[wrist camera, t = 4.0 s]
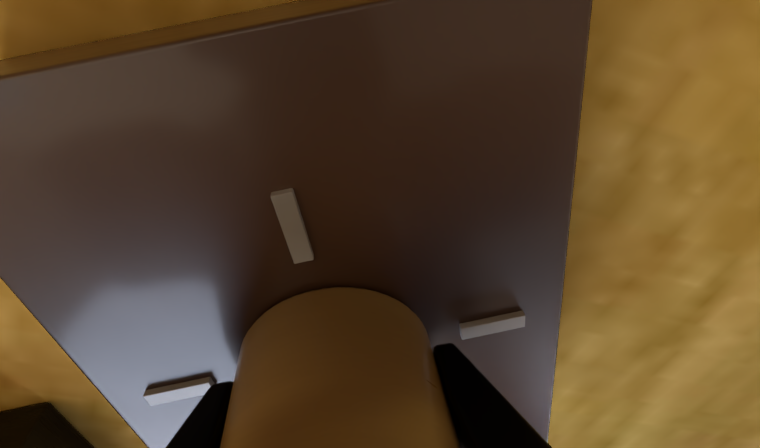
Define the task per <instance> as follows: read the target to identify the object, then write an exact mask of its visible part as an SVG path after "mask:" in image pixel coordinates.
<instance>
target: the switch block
mask: <svg viewBox="0 0 760 448" xmlns="http://www.w3.org/2000/svg"><path fill="white" fill-rule="evenodd" d="M0 448H94V447H93V446H92V445H91V444H90V443H89V442H88V441H87V440H86V439H85V438H84V437H83V436H82V435H81V434H80V433H79V432H78V431H77V430H76V429H75V428H74V427H73V426H72V425H71V424H70V423H69V422H68V421H67V420H66V419H65V418H64V417H63V416H62V415H61V414H60V413H59V412H58V411H57V410H56V409H55V408H54V407H53V406H52V405H51V404H50V403H43V404H38V405H34V406H29V407H24V408H19V409H15V410H10V411H5V412H1V413H0Z"/></svg>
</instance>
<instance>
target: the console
mask: <svg viewBox="0 0 760 448" xmlns="http://www.w3.org/2000/svg"><path fill="white" fill-rule="evenodd" d="M591 9H592V0H301V1H296V2H291V3H286V4H281V5H276V6H271V7H266V8H261V9H256V10H251V11H245V12H240V13H235V14H230V15H225V16H220V17H215V18H210V19H205V20H200V21H195V22H190V23H185V24H180V25H175V26H170V27H165V28H160V29H155V30H150V31H145V32H140V33H135V34H130V35H125V36H120V37H115V38H109V39H104V40H99V41H94V42H89V43H84V44H79V45H74V46H69V47H64V48H59V49H54V50H49V51H44V52H39V53H34V54H29V55H24V56H19V57H14V58H9V59H4V60H0V278H1V279H2V280H3V281H4V282H5V283H6V285H7V286H8V287H9V288H10V289H11V290H12V291H13V293H14V294H15V295H16V296H17V297H18V298H19V300H20V301H21V302H22V303H23V304H24V305H25V306H26V308H27V309H28V310H29V311H30V312H31V313H32V314H33V316H34V317H35V318H36V319H37V320H38V321H39V323H40V324H41V325H42V326H43V327H44V328H45V329H46V331H47V332H48V333H49V334H50V335H51V336H52V338H53V339H54V340H55V341H56V342H57V343H58V344H59V346H60V347H61V348H62V349H63V350H64V351H65V353H66V354H67V355H68V356H69V357H70V358H71V359H72V361H73V362H74V363H75V364H76V365H77V366H78V367H79V369H80V370H81V371H82V372H83V373H84V374H85V376H86V377H87V378H88V379H89V380H90V381H91V382H92V384H93V385H94V386H95V387H96V388H97V389H98V391H99V392H100V393H101V394H102V395H103V396H104V397H105V399H106V400H107V401H108V402H109V403H110V404H111V406H112V407H113V408H114V409H115V410H116V411H117V412H118V414H119V415H120V416H121V417H122V418H123V419H124V420H125V422H126V423H127V424H128V425H129V426H130V427H131V429H132V430H133V431H134V432H135V433H136V434H137V435H138V437H139V438H140V439H141V440H142V441H143V442H144V444H145V445H146V446H147V447H148V448H166V446H167V445H168V444H169V442H170V441H171V440H172V438H173V437H174V435H175V434H176V433H177V431H178V430H179V429H180V427H181V426H182V424H183V423H184V422H185V420H186V419H187V418H188V416H189V415H190V414H191V412H192V411H193V409H194V408H195V407H196V405H197V404H198V403H199V401H200V400H201V399H202V397H203V396H204V394H205V393H206V392H207V390H208V389H209V388H210V387H211V386H212V385H213V384H216V383H221V382H227V381H233V382H234V377H235V372H236V367H237V362H238V357H239V353H240V348H241V345H242V342H243V339H244V338H245V336H246V334H247V332H248V330H249V329H250V328H251V327H252V325H253V324H254V323H255V322H256V321H257V320H258V319H259V318H260V317H261V316H262V315H263V314H264V313H265V312H266V311H268V310H269V309H270V308H272V307H273V306H275V305H277V304H278V303H280V302H282V301H284V300H286V299H288V298H290V297H293V296H295V295H298V294H301V293H304V292H308V291H312V290H317V289H322V288H332V287H354V288H363V289H368V290H372V291H376V292H379V293H382V294H385V295H388V296H390V297H392V298H394V299H396V300H398V301H400V302H401V303H403V304H404V305H406V306H407V307H408V308H409V309H410V310H411V311H413V312H414V313H415V314H416V315H417V317H418V318H419V319H420V320H421V322H422V323H423V325H424V327H425V329H426V331H427V334H428V337H429V340H430V344H431V347H432V351H433V348H434V346H436V345H440V344H445V343H453V344H454V345H456V346H457V347H458V349H459V350H460V351H461V352H462V353H463V354H464V355H465V356H466V357H467V358H468V359H469V360H470V361H471V362H472V363H473V364H474V365H475V367H476V368H477V369H478V370H479V371H480V372H481V373H482V374H483V375H484V376H485V377H486V378H487V379H488V380H489V381H490V382H491V383H492V385H493V386H494V387H495V388H496V389H497V390H498V391H499V392H500V393H501V394H502V395H503V396H504V397H505V398H506V399H507V400H508V402H509V403H510V404H511V405H512V406H513V407H514V408H515V409H516V410H517V411H518V412H519V413H520V414H521V415H522V416H523V417H524V418H525V420H526V421H527V422H528V423H529V424H530V425H531V426H532V427H533V428H534V429H535V430H536V431H537V432H538V433H539V434H540V435H541V436H542V438H543V439H544V440H545V441H546V442H547V443H548V433H549V423H550V414H551V404H552V394H553V384H554V374H555V364H556V354H557V345H558V335H559V325H560V315H561V305H562V295H563V285H564V275H565V266H566V256H567V246H568V236H569V226H570V216H571V206H572V197H573V187H574V177H575V167H576V157H577V147H578V137H579V128H580V118H581V108H582V98H583V88H584V78H585V68H586V58H587V49H588V39H589V29H590V19H591Z"/></svg>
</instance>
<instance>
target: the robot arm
mask: <svg viewBox="0 0 760 448" xmlns="http://www.w3.org/2000/svg"><path fill="white" fill-rule="evenodd" d="M433 354H434V358H435V361H436V364H437V368H438V371H439V375H440V378H441V382H442V385H443V388H444V392H445V395H446V399H447V402H448V406H449V409H450V412H451V416H452V419H453V423H454V426H455V429H456V433H457V436H458V440H459V443H460V447H461V448H552V447H551V446H550V445H549V444H548V443H547V442H546V441H545V440H544V439H543V438H542V436H541V435H540V434H539V433H538V432H537V431H536V430H535V429H534V428H533V427H532V426H531V425H530V424H529V423H528V422H527V421H526V420H525V418H524V417H523V416H522V415H521V414H520V413H519V412H518V411H517V410H516V409H515V408H514V407H513V406H512V405H511V404H510V403H509V402H508V400H507V399H506V398H505V397H504V396H503V395H502V394H501V393H500V392H499V391H498V390H497V389H496V388H495V387H494V386H493V385H492V383H491V382H490V381H489V380H488V379H487V378H486V377H485V376H484V375H483V374H482V373H481V372H480V371H479V370H478V369H477V368H476V367H475V365H474V364H473V363H472V362H471V361H470V360H469V359H468V358H467V357H466V356H465V355H464V354H463V353H462V352H461V351H460V350H459V349H458V347H457V346H456V345H454V344H453V343H445V344H440V345H436V346H434V348H433ZM232 387H233V381H227V382H221V383H216V384H213V385H212V386H211V387H210V388H209V389H208V390H207V392H206V393H205V394H204V396H203V397H202V399H201V400H200V401H199V403H198V404H197V405H196V407H195V408H194V409H193V411H192V412H191V414H190V415H189V416H188V418H187V419H186V420H185V422H184V423H183V424H182V426H181V427H180V429H179V430H178V431H177V433H176V434H175V435H174V437H173V438H172V440H171V441H170V442H169V444H168V445H167V446H166V448H220V445H221V440H222V435H223V431H224V426H225V421H226V416H227V411H228V406H229V401H230V396H231V392H232Z"/></svg>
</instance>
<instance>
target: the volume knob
mask: <svg viewBox="0 0 760 448" xmlns="http://www.w3.org/2000/svg"><path fill="white" fill-rule="evenodd" d="M220 448H461V447H460V443H459V440H458V436H457V433H456V429H455V426H454V423H453V419H452V416H451V412H450V409H449V406H448V402H447V399H446V395H445V392H444V388H443V385H442V382H441V378H440V375H439V371H438V368H437V364H436V361H435V358H434V354H433V351H432V347H431V344H430V340H429V337H428V334H427V331H426V329H425V327H424V325H423V323H422V322H421V320H420V319H419V318H418V317H417V315H416V314H415V313H414V312H413V311H411V310H410V309H409V308H408V307H407V306H406V305H404V304H403V303H401V302H400V301H398V300H396V299H394V298H392V297H390V296H388V295H385V294H382V293H379V292H376V291H372V290H368V289H363V288H354V287H332V288H322V289H317V290H312V291H308V292H304V293H301V294H298V295H295V296H293V297H290V298H288V299H286V300H284V301H282V302H280V303H278V304H277V305H275V306H273V307H272V308H270V309H269V310H268V311H266V312H265V313H264V314H263V315H262V316H261V317H260V318H259V319H258V320H257V321H256V322H255V323H254V324H253V325H252V327H251V328H250V329H249V330H248V332H247V334H246V336H245V338H244V339H243V342H242V345H241V348H240V353H239V357H238V362H237V367H236V372H235V377H234V382H233V387H232V392H231V396H230V401H229V406H228V411H227V416H226V421H225V426H224V431H223V435H222V440H221V445H220Z"/></svg>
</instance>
